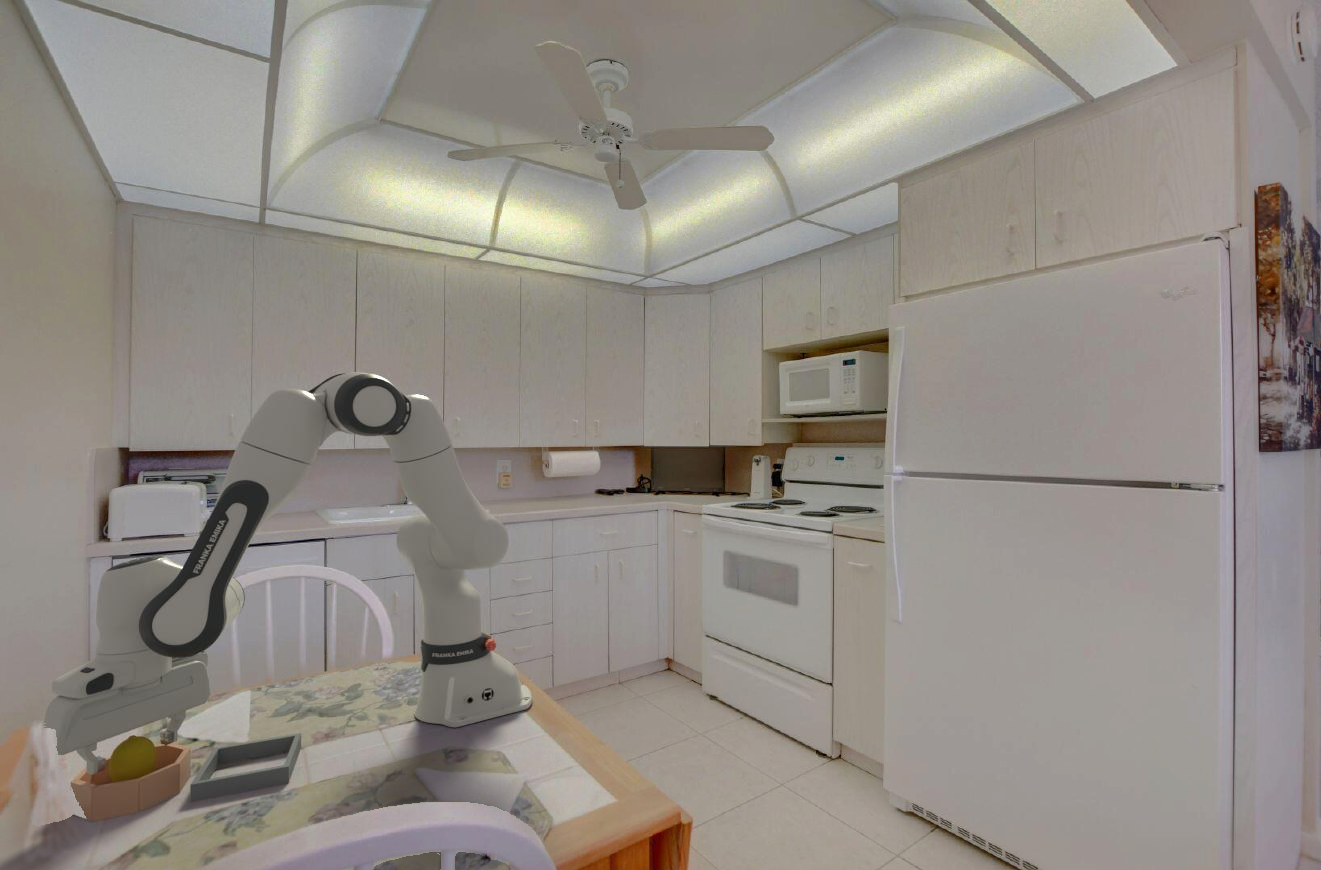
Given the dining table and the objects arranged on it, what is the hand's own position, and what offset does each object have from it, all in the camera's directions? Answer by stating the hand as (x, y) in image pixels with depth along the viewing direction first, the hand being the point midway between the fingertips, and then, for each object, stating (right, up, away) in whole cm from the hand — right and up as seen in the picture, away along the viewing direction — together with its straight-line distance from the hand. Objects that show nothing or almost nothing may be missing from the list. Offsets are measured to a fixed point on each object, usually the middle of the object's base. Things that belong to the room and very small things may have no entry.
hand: (134, 756), depth 93 cm
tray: (+14, -6, +6) cm, 16 cm away
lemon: (0, -5, 0) cm, 5 cm away
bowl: (0, -6, 0) cm, 6 cm away
